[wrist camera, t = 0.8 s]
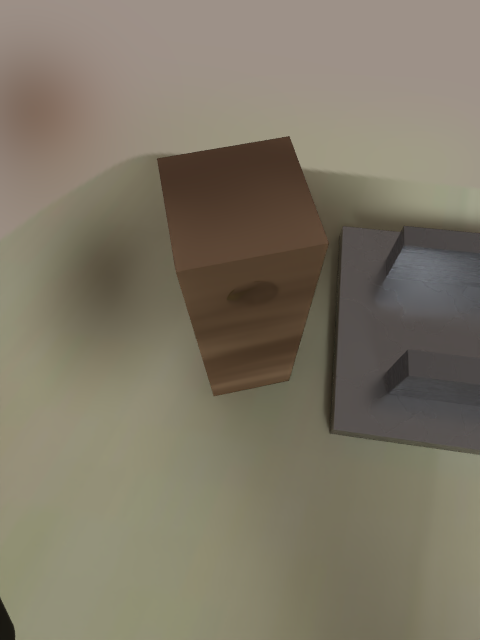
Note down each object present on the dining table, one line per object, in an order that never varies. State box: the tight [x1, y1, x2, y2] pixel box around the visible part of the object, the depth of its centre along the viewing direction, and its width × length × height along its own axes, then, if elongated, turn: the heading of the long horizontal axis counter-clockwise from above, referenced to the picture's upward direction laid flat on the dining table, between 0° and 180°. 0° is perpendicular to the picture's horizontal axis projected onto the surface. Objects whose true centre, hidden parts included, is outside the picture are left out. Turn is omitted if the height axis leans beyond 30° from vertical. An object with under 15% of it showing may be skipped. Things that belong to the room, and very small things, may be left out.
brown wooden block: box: [157, 136, 329, 396], centre depth 17 cm, size 4×4×12 cm
